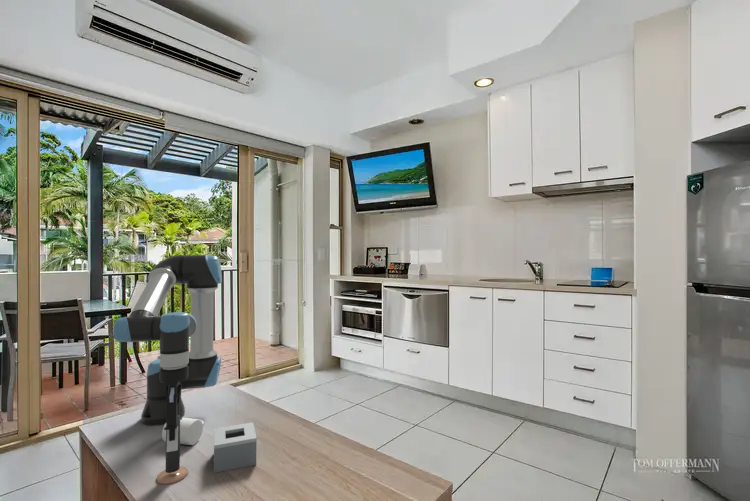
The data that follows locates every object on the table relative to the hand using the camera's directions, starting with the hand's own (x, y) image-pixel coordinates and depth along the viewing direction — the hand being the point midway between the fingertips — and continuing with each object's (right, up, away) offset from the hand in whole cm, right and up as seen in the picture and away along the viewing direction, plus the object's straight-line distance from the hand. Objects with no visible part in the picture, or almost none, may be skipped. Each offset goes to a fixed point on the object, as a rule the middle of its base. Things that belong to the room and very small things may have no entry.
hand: (173, 447), depth 108 cm
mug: (-7, -9, +22) cm, 25 cm away
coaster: (0, -8, 0) cm, 8 cm away
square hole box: (+14, -9, +9) cm, 19 cm away
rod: (0, -6, 0) cm, 6 cm away
